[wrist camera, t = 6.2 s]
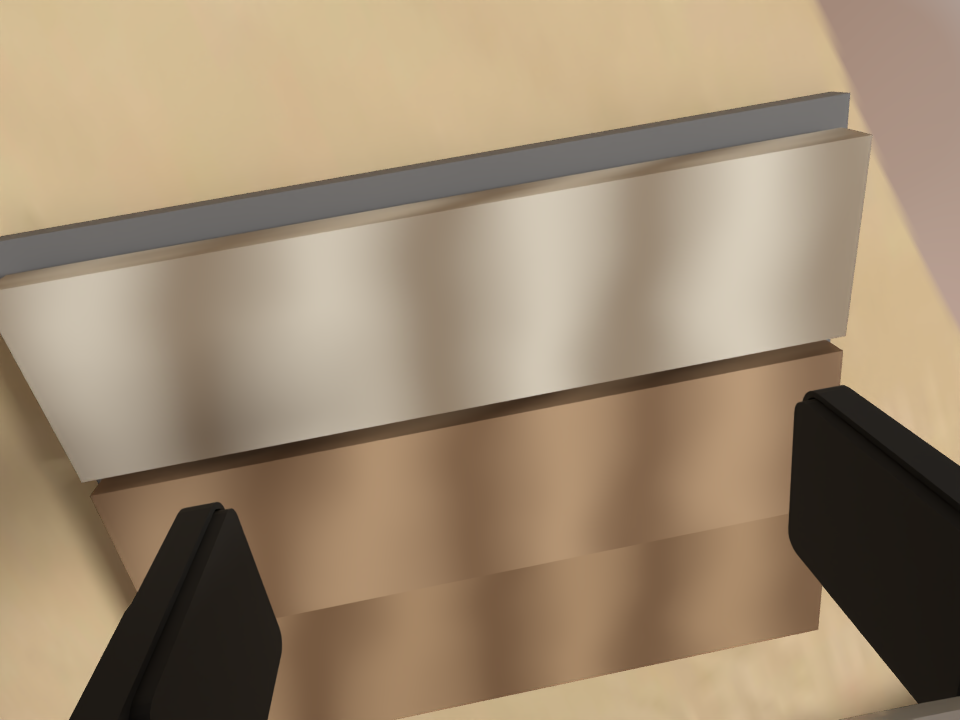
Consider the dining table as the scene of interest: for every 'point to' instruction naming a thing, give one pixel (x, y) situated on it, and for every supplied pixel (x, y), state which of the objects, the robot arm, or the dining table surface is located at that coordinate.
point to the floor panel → (497, 479)
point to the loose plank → (440, 303)
